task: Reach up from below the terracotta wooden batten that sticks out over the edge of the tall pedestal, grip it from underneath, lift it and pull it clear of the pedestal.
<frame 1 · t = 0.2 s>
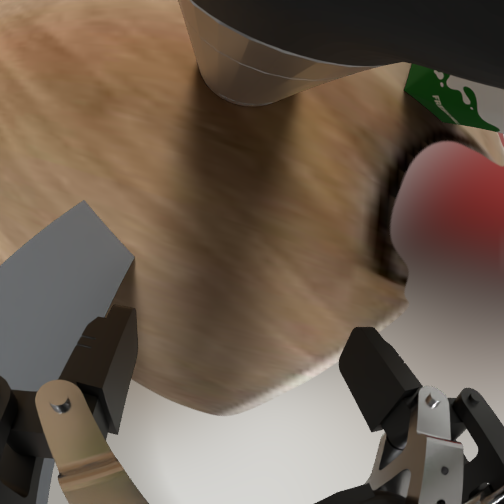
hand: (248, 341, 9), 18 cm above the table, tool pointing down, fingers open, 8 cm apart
milk carton: (429, 83, 21), on the table
pedestal: (82, 256, 25), on the table
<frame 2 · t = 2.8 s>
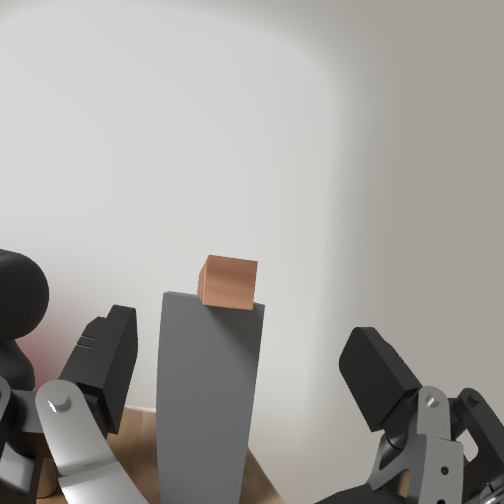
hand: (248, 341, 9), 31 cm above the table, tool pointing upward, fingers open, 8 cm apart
batten: (212, 298, 29), point 32 cm above the table, touching pedestal
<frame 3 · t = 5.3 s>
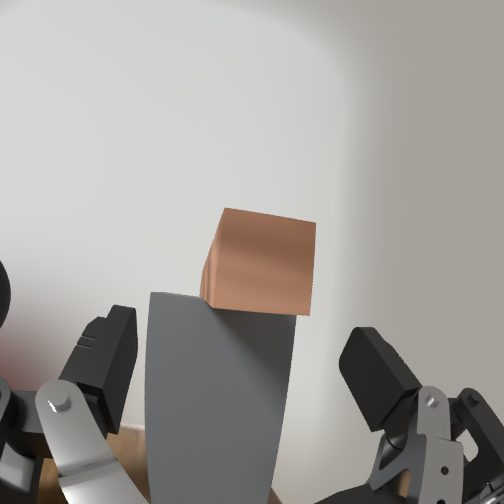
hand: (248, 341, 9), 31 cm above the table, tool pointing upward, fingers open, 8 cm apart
batten: (221, 300, 21), point 32 cm above the table, touching pedestal
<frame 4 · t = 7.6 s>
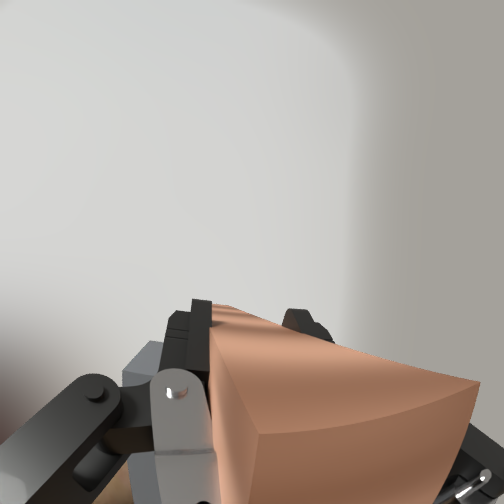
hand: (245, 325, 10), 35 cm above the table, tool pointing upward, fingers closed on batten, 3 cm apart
batten: (225, 366, 14), point 32 cm above the table, touching gripper, pedestal
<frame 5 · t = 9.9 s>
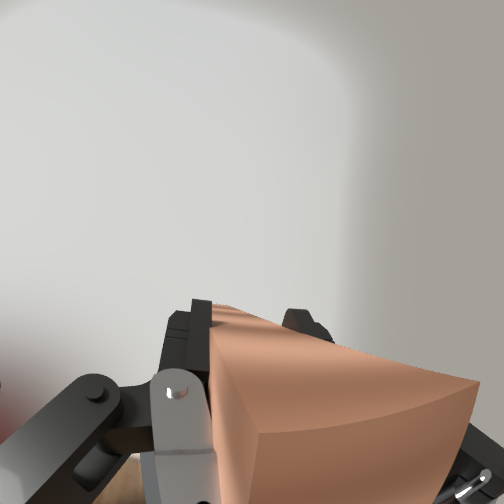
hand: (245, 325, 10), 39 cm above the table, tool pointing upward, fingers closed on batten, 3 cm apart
batten: (225, 366, 14), point 36 cm above the table, touching gripper
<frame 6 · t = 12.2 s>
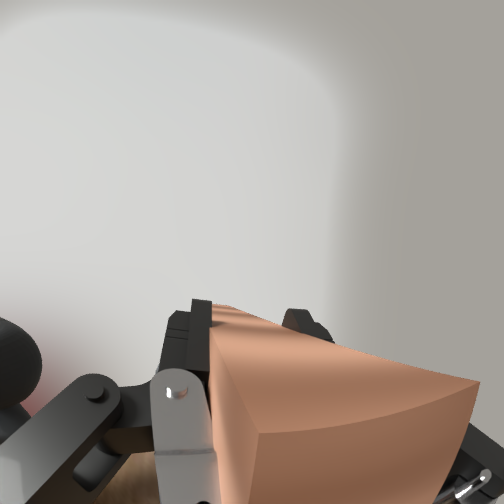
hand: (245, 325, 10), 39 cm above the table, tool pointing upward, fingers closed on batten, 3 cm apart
batten: (225, 366, 14), point 36 cm above the table, touching gripper
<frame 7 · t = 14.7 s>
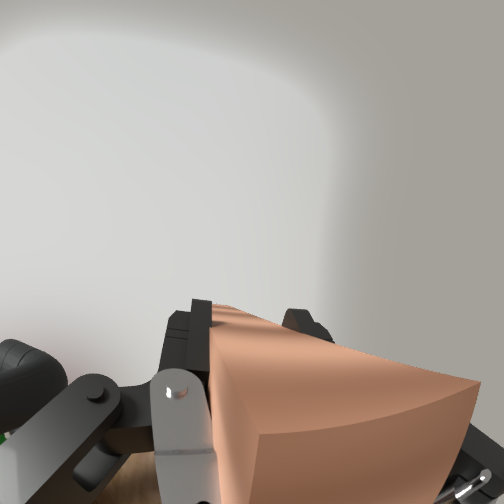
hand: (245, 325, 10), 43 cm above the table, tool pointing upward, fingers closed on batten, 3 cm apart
batten: (225, 366, 14), point 40 cm above the table, touching gripper
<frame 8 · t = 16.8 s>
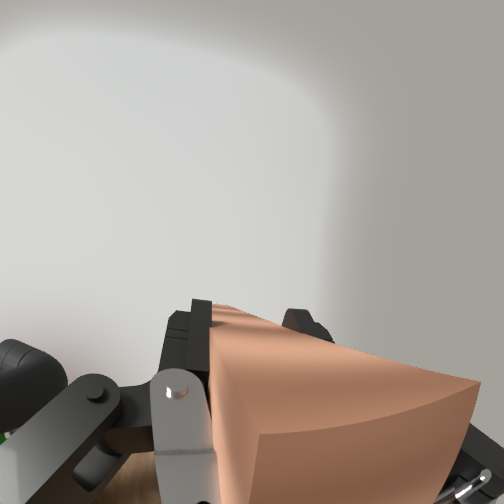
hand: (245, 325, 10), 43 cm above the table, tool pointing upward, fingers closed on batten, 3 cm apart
batten: (225, 366, 14), point 40 cm above the table, touching gripper
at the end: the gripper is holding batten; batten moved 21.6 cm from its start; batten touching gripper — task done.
